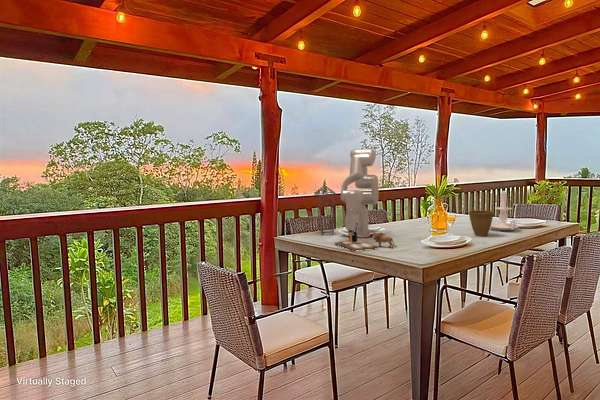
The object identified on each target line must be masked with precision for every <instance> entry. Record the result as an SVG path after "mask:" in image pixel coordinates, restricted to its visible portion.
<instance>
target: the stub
mask: <svg viewBox="0 0 600 400" xmlns="http://www.w3.org/2000/svg"><path fill="white" fill-rule="evenodd" d="M349 237H350V241H349V240H347V241H348V242H342V241H341V242H342V243H343V244H346V245H347V244H355V243H363V242H364V241H363V240H360V239H357V241H356V242H352V232H349V234H348V238H349Z"/></svg>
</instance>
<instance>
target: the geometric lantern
mask: <svg viewBox="0 0 600 400" xmlns="http://www.w3.org/2000/svg"><path fill="white" fill-rule="evenodd" d="M322 190H323V191H322ZM321 191H322V192H321ZM328 191H329V192H328ZM336 195H337V193H336V191H333V190H332V189H331V188H330V187H328V186H326V185H323V186H321V187H320V188H319V189H318V190H317V191H315V192H314V198H315V201H316V203H317V230H318V231H320V233H321V235H322V236H323V235H325V236H327V235H329V236H330V235H331V236H332V235H334V231H335V230H336V229H337V223H336V215H335V205H334V202H335V199H336ZM317 197H318V198H320V203H319V200H318V198H317ZM331 197H333V199H332V200H333V201H331V200H330V198H331ZM324 200H327V202H323V201H324ZM327 205H330V211H331V224H329V225H328V227H331V228H322V227H326V225H322V214H321V213H322V207H325V206H327ZM319 221H320V222H319Z"/></svg>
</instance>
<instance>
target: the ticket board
mask: <svg viewBox="0 0 600 400" xmlns="http://www.w3.org/2000/svg"><path fill="white" fill-rule="evenodd" d="M348 241H349V240H343V241H335V242H334V245H335V244H336V245H335V246H337V245H339V246H338V247H340V246H341V247H340V248H342V247H344V248H343V249H345V248H347V249H350V250H353V251H356V250H365V249H374V250H376V249H375V248H378V249H379V247H378V246H379V245H378V246H377V245H374V244H371V243H368V242H365V241H363V243H355V244H347V245H346V244H343V243H342V242H348ZM347 249H346V250H347ZM350 250H349V251H350ZM353 251H352V252H353Z"/></svg>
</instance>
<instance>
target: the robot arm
mask: <svg viewBox="0 0 600 400" xmlns="http://www.w3.org/2000/svg"><path fill="white" fill-rule="evenodd" d="M349 155H350V167H349V175H348V176H347V177H346V178H345V179H344V181H343V182H342V183H341V184H342V185H341V187H340V188H341V190H340V200H341V201H342V202H343V203H345V208H346V209H345V221H344V227H345V229H346V230H347V232H348V235H349V232H352V242H356V241H357V240H358V238H361V239H362V238H369V237H371V236H372V235H371V233H374V232H375V229H370V228H369V210H368V208H367V207H366V206H367V205H373V206H374V205H377V204H379V178H378V175H376V174H368V167H373V165H374V163H375V161H376V158H377V152H376V150H375V149H374V148H356V149H352V150H350V151H349ZM353 183H354V185H355V186H354V187H355V188H356V189H347V188H348V187H349V186H350V185H352V184H353ZM357 189H358V190H357ZM360 189H361V190H360ZM363 189H364V190H363ZM367 189H369V190H367ZM348 241H350V237H349V236H348Z"/></svg>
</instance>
